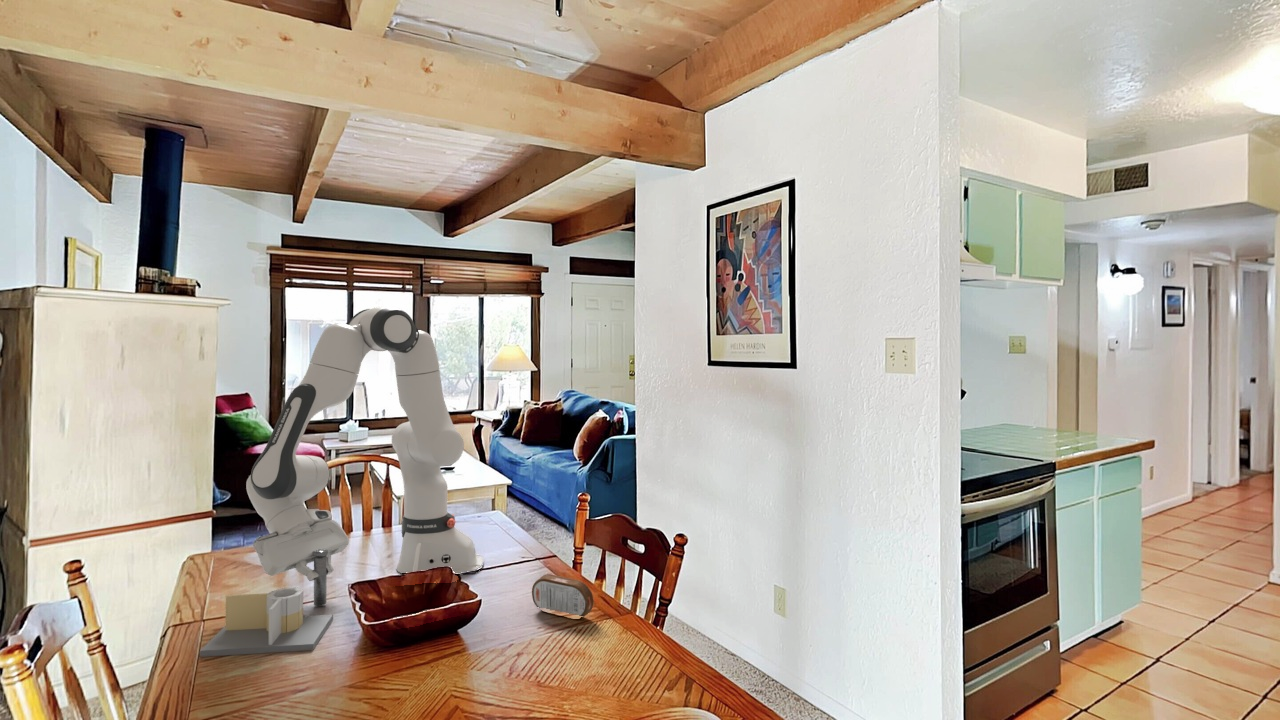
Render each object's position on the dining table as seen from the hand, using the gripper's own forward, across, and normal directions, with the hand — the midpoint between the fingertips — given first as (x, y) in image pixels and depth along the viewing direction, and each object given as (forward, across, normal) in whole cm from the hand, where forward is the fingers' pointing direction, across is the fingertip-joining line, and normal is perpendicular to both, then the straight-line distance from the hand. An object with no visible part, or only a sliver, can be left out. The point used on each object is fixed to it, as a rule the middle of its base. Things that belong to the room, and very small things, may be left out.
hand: (322, 576), depth 148 cm
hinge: (+8, -15, +2) cm, 17 cm away
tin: (+41, +21, -30) cm, 55 cm away
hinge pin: (+4, 0, +5) cm, 6 cm away
